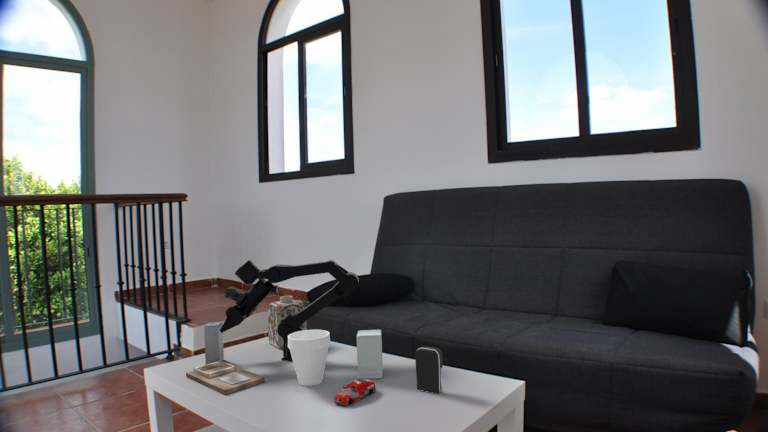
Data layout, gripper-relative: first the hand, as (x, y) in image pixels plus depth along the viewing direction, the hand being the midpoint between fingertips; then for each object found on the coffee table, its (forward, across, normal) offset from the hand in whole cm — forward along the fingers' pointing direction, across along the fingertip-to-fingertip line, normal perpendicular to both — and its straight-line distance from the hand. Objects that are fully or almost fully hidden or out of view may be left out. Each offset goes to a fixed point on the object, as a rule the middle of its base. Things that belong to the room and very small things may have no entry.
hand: (225, 328), depth 157 cm
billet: (+11, 0, +5) cm, 12 cm away
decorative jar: (-4, -20, +20) cm, 29 cm away
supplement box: (-27, +20, +43) cm, 54 cm away
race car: (-24, +37, +40) cm, 59 cm away
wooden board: (+4, +18, +12) cm, 22 cm away
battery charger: (-38, +34, +54) cm, 75 cm away
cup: (-14, +23, +30) cm, 41 cm away
